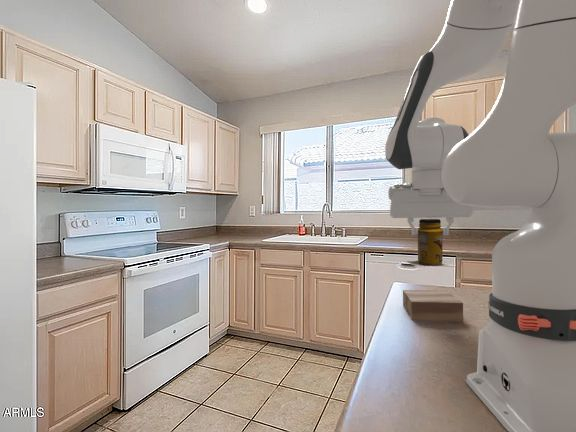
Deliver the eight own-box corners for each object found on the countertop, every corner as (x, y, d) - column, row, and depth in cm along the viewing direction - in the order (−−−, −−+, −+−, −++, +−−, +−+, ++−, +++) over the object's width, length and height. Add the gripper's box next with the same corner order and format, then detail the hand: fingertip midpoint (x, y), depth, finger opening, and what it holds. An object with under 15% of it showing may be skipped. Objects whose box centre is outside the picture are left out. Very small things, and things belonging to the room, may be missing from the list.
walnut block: (463, 323, 80) (463, 303, 80) (412, 321, 82) (411, 301, 82) (447, 308, 92) (447, 290, 92) (403, 307, 94) (402, 289, 94)
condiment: (449, 265, 84) (449, 219, 84) (419, 267, 83) (418, 220, 83) (433, 261, 91) (433, 218, 91) (405, 262, 90) (404, 219, 90)
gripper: (388, 183, 86) (389, 235, 86) (475, 180, 80) (475, 236, 81) (388, 184, 92) (388, 233, 92) (468, 181, 86) (469, 234, 87)
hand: (429, 234), depth 87 cm, fingers closed on condiment, 6 cm apart
